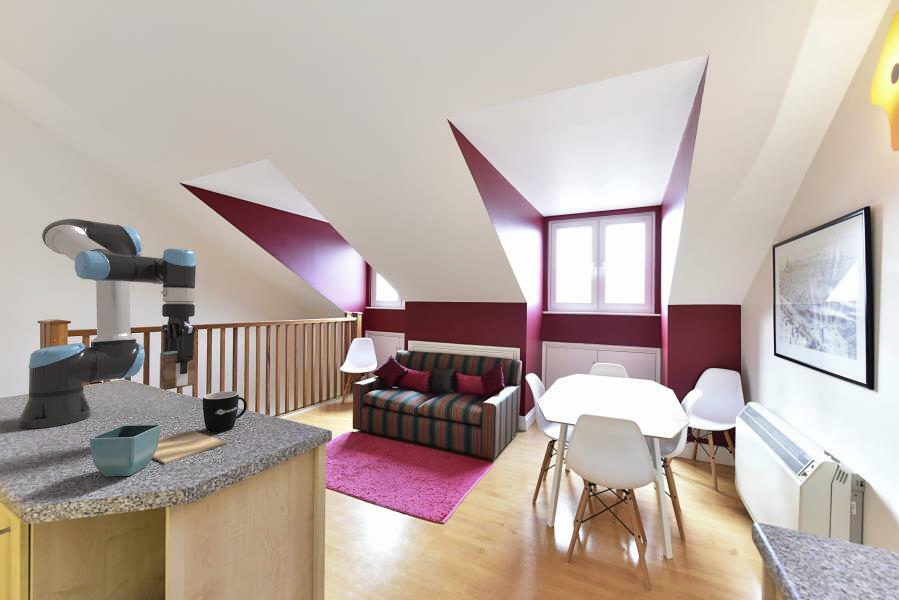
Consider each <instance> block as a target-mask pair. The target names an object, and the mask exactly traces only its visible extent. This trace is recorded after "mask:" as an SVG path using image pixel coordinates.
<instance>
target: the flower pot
mask: <svg viewBox="0 0 899 600" xmlns="http://www.w3.org/2000/svg"><path fill="white" fill-rule="evenodd" d="M161 431H162V424H125V425H120V426H117V427H115V428H113V429H110V430H107V431H104V432H102V433H99V434H97V435H93V436H91V437H90V438H89V443H90V451H91V455H92V456H91V457H92V461H93V464H94V466H95V467H96V469H97V470H98V471H99V472H100V474H102V475H103V476H104V477H128V476H132V475H134V474H135V473H137V472H139V471H141V470H142V469H144V468H146V467H147V466H148V465H149V463H150V462H151V461H152V458H153V456H154V454H155V452H156V449H157V447H158V443H159V439H160V438H161V437H160V436H161Z"/></svg>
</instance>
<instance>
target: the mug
mask: <svg viewBox="0 0 899 600" xmlns="http://www.w3.org/2000/svg"><path fill="white" fill-rule="evenodd" d="M239 400H240V401H242V403H243V409H242V410H241V412H240V413H239V414H238V408H239ZM247 407H248V402H247V400H246V399H245V397H244V398H243V397H242V396H239V393H238V392H237V391H230V390H229V391H227V390H226V391H217V392H211V393H208V394H205V395H204V396H202V414H203V421H204V427H205V430H206V431H207V432H208V433H211V434H218V433H224V432H228V431H230V430H232V429H233V428H234V427H235V425H236V421H237V420H238V419H239V418H241V417H242V416H243V415H244V414H245V413H246V410H247Z"/></svg>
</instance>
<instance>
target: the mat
mask: <svg viewBox="0 0 899 600" xmlns="http://www.w3.org/2000/svg"><path fill="white" fill-rule="evenodd" d="M225 445H228V442H227V441H225V440H221V439H220V438H219V439H218V438H216V437H214V436H210V435H207V434H204V433H201V432H198V431H196V430H195V431H194V430H191V429H190V430H186V431H183V432H180V433H176V434H175V433H174V434H171V435H168V436H164V437H159V443H158V447H157V449H156V452H155V454H154V456H153V458H152V459H153V460H155V461H157V462H159V463H162V464H163V465H166V464H170V463H173V462H176V461H178V460H182V459H186V458H188V457H191V456H195V455H197V454H200V453H203V452H206V451H210V450H212V449H216V448H219V447H222V446H225ZM152 459H151V460H152Z"/></svg>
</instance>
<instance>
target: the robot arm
mask: <svg viewBox="0 0 899 600" xmlns="http://www.w3.org/2000/svg"><path fill="white" fill-rule="evenodd" d="M41 234H42V235H41V238H42V241H43V244H44V245H45V246H46V247H47V248H49V249H50V250H51V251H52V252H54V253H57V254H59V255H63V256H65V257H67V258H68V259H70V260H71V261H73V262H74V270H75V271H74V272H75V273H76V276H77V277H78V278H79V279H82V280H91V281H95V295H96V296H95V297H96V298H95V299H96V337H95V338H93V339H92V340H90V346H87V347H86V344H85V343H82V342H81V343H77V342H76V343H67V344H59V345H54V346H47V347H43V348H39V349H36V350H33V352H32V353H30V355H29V361H28V362H29V363H28V368H29V370H28V372H29V373H28V374H29V375H28V400H27V402H26V404H25V406H24V408H23V411H22V413H21V414H20V417H19V418H18V419H19V420H18V427H19V428H22V429H41V428H49V427H57V426H64V425H69V424H73V423H76V422H80V421H83V420H86V419H87V418H90V417H91V413H92V412H91V411H92V409H91V407H90V404H89V402H88V399H87V397H86V395H85V393H84V385H85V384H86V383H87V384H88V383H96V382H103V381H112V380H122V379H124V378H125V379H126V378H130V377H134V376H136V375H137V374H138V373H140V371H141V369H142V367H143V365H144V361H145V357H146V353H145V348H144V346H143V344H141V343H139V342H137V337H135V336H133V335H132V333H131V300H130V298H131V297H130V296H131V295H130V293H131V292H130V282H131V283H149V284H155V285H157V284H158V285H162V290H161V291H160V293H161V295H162V301H163V302H165V303H162V309H161V314H162V315H161V316H162V317H165V318H168V320H167V324H162V325H161V327H162V333H163V335H162V340H163V341H162V349H163V350H162V352H171V351H177V355H178V361H175V363H176V386H183V385H188V362H189V361H190V360H193V351H195V350H194V348H195V347H194V346H195V344H194V343H195V332H196V325H191V323H190V319H189V318H191V317H195V315H196V313H195V312H196V306H195V305H196V304H194V303H195V301H196V273H197V272H196V271H197V270H196V267H197V262H196V261H197V260H196V253H195V252H194V251H192V250H189V249H185V248H165V249H164V250H163V254H162V257H152V256H151V257H150V256H143V255H142V251H143V245H142V241H141V238H140V235H139V233H138V232H137V230H135V229H133V228H131V227H128V226H123V225H120V224H112V223H107V222H105V223H104V222H98V221H93V220H86V219H80V218H65V219H60V220H56V221H53V222H51V223H50V224H48V225H46V226H45V228H44V229H43V230H42V233H41ZM141 255H142V256H141Z"/></svg>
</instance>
